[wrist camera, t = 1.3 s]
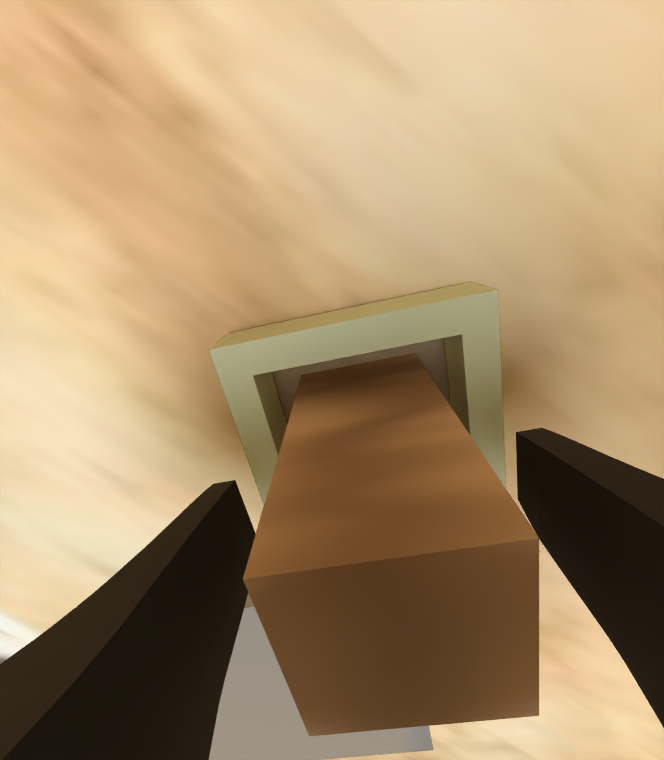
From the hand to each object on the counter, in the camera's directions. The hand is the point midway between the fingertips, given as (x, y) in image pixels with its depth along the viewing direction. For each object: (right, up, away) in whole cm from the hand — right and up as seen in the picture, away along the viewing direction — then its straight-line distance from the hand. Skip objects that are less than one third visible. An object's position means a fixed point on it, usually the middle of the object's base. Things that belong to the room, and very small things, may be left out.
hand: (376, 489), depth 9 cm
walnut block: (0, +2, +4) cm, 4 cm away
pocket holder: (0, +2, +4) cm, 4 cm away
